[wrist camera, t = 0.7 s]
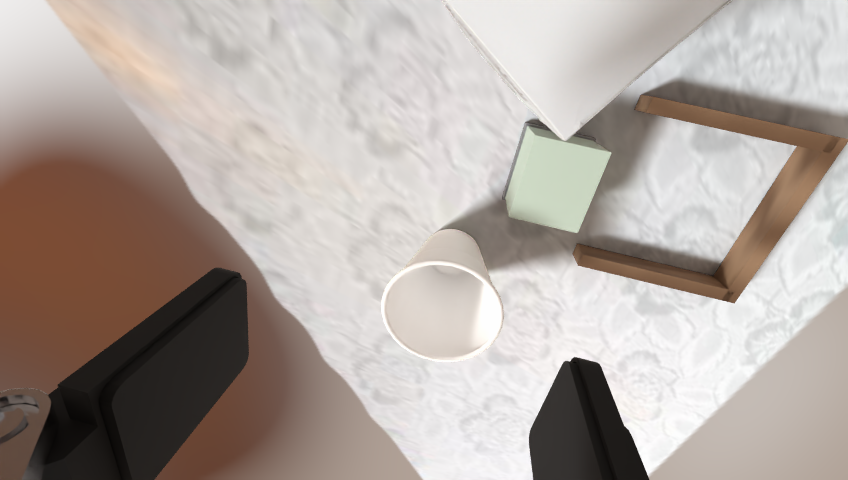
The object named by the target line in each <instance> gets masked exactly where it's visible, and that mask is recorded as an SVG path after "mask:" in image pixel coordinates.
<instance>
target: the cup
mask: <svg viewBox="0 0 848 480" xmlns="http://www.w3.org/2000/svg"><path fill="white" fill-rule="evenodd" d="M381 312H382V316H383V320H384V323H385V325H386V327H387V330H388V331H389V333H390V334H391V335H392V337H393V338H394V339H395V340H396V341H397V342H398V343H399V344H400V345H401V346H402V347H404V348H405V349H406V350H408V351H409V352H411V353H413V354H415V355H417V356H419V357H422V358H425V359H429V360H432V361H439V362H456V361H462V360H466V359H469V358H472V357H475V356H477V355H478V354H480V353H482V352H484V351H485V350H486V349H487V348H488V347H490V346H491V345H492V344H493V342H494V341H495V340H496V338H497V337H498V335H499V333H500V331H501V328H502V324H503V319H504V312H503V304H502V301H501V298H500V296H499V294H498V292H497V290H496V289H495V287H494V286H493V284H492V282H491V279H490V276H489V274H488V271H487V268H486V266H485V263H484V260H483V258H482V255H481V252H480V249H479V247H478V245H477V243H476V241H475V240H474V239H473V238H472V237H471V236H470V235H468V234H467V233H465V232H463V231H460V230H456V229H444V230H440V231H438V232H436V233H434V234H433V235H431V236H430V237H429V238H428V239H427V240H426V242H425V243H424V244H423V245H422V247H421V248H420V249H419V250H418V252H417V253H416V254H415V255H414V256H413V258H412V259H411V260H410V261H409V263H408V264H407V265H406V266H405V267H404V268H403V269H402V270H401V271H399V272H398V273H397V274H395V276H394V277H393V278H392V279H391V280H390V281H389V283H388V285H387V286H386V288H385V290H384V293H383V297H382V301H381Z"/></svg>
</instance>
